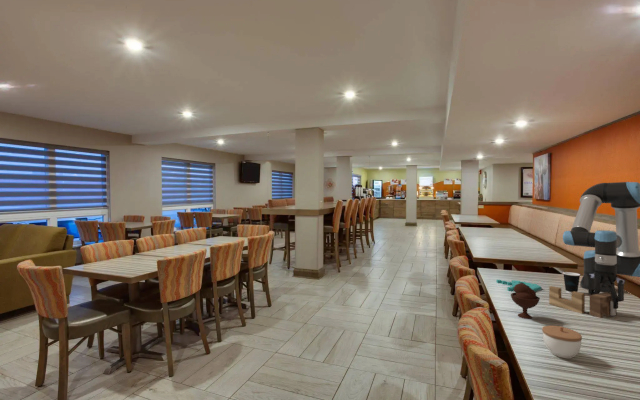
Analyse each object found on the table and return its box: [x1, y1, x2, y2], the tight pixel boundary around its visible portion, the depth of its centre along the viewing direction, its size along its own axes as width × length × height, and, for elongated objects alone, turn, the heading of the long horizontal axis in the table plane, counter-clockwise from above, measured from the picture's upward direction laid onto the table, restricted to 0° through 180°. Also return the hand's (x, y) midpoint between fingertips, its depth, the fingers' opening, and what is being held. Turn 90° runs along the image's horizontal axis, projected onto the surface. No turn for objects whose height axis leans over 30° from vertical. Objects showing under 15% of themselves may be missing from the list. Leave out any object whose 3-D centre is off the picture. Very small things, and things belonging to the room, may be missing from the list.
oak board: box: [548, 285, 586, 314], centre depth 151 cm, size 2×14×9 cm, turn 24°
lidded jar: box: [541, 325, 583, 360], centre depth 106 cm, size 11×11×9 cm
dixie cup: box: [562, 271, 581, 294], centre depth 177 cm, size 8×8×11 cm
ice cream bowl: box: [510, 284, 540, 320], centre depth 140 cm, size 11×11×15 cm
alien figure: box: [496, 279, 542, 293], centre depth 188 cm, size 20×2×20 cm
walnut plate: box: [589, 292, 618, 319], centre depth 143 cm, size 14×4×9 cm, turn 114°
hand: (605, 312), depth 144 cm, fingers open, 5 cm apart
